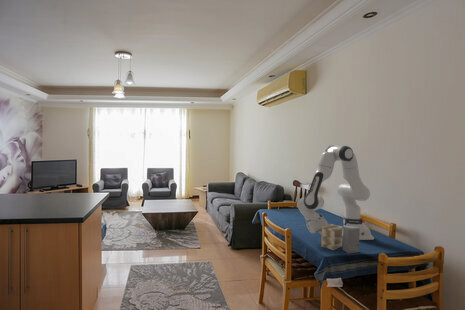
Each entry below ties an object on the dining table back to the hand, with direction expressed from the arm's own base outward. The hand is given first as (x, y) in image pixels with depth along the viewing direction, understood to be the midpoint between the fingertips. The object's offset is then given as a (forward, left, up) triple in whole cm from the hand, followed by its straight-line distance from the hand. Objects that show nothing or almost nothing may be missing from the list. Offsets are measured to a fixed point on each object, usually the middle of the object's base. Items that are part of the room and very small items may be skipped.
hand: (325, 236), depth 207 cm
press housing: (-4, +4, -6) cm, 8 cm away
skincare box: (-13, +11, -6) cm, 19 cm away
